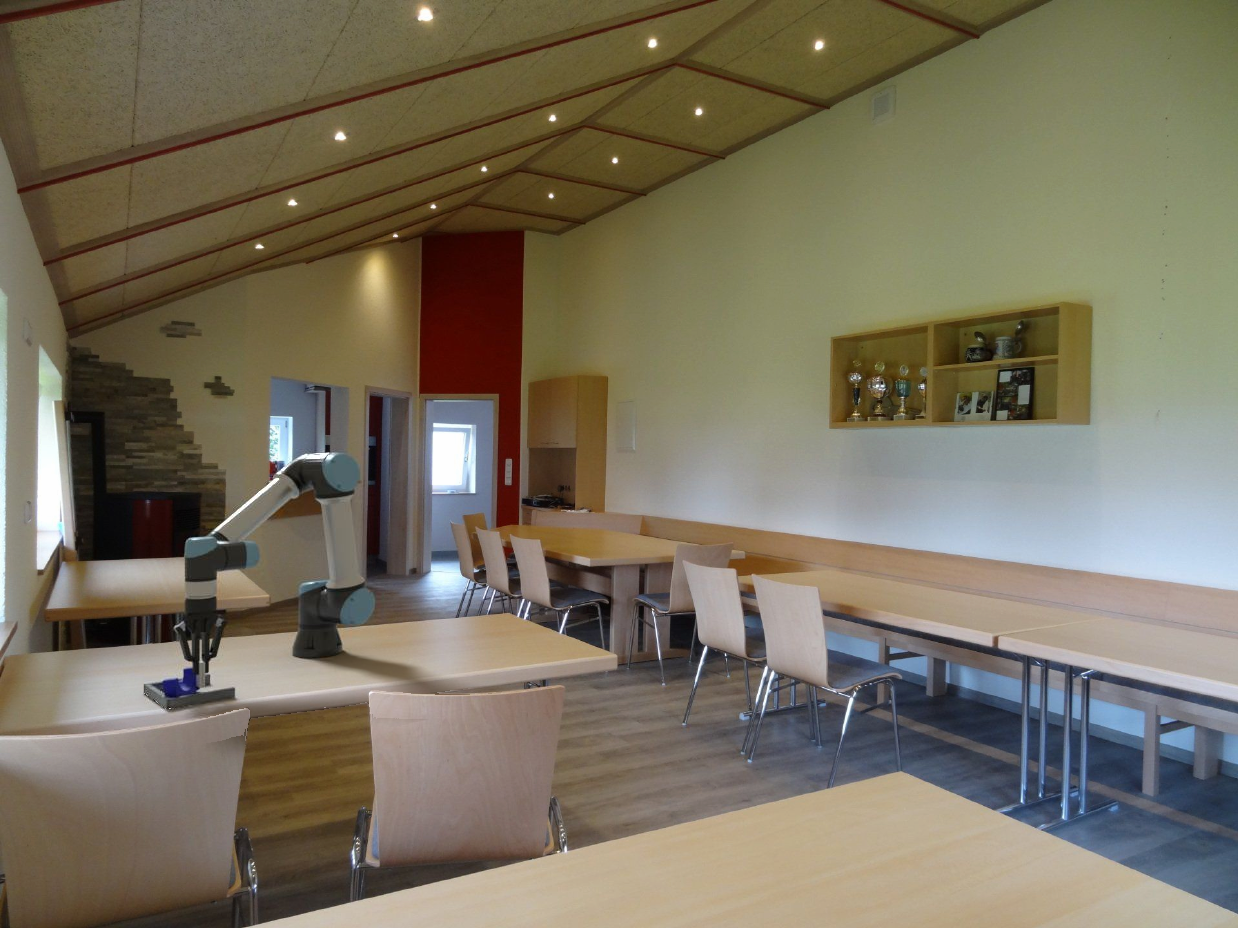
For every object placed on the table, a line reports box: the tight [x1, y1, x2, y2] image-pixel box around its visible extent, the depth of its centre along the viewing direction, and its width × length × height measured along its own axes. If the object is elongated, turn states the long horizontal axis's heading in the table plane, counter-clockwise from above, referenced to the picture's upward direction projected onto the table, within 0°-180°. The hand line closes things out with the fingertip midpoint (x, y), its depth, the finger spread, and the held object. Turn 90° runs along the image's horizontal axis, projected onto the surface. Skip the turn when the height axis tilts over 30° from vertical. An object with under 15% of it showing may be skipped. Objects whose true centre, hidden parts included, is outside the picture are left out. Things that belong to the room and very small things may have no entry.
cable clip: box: [162, 666, 201, 698], centre depth 211 cm, size 12×4×6 cm, turn 3°
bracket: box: [143, 673, 236, 710], centre depth 213 cm, size 16×19×2 cm
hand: (200, 686), depth 214 cm, fingers closed
